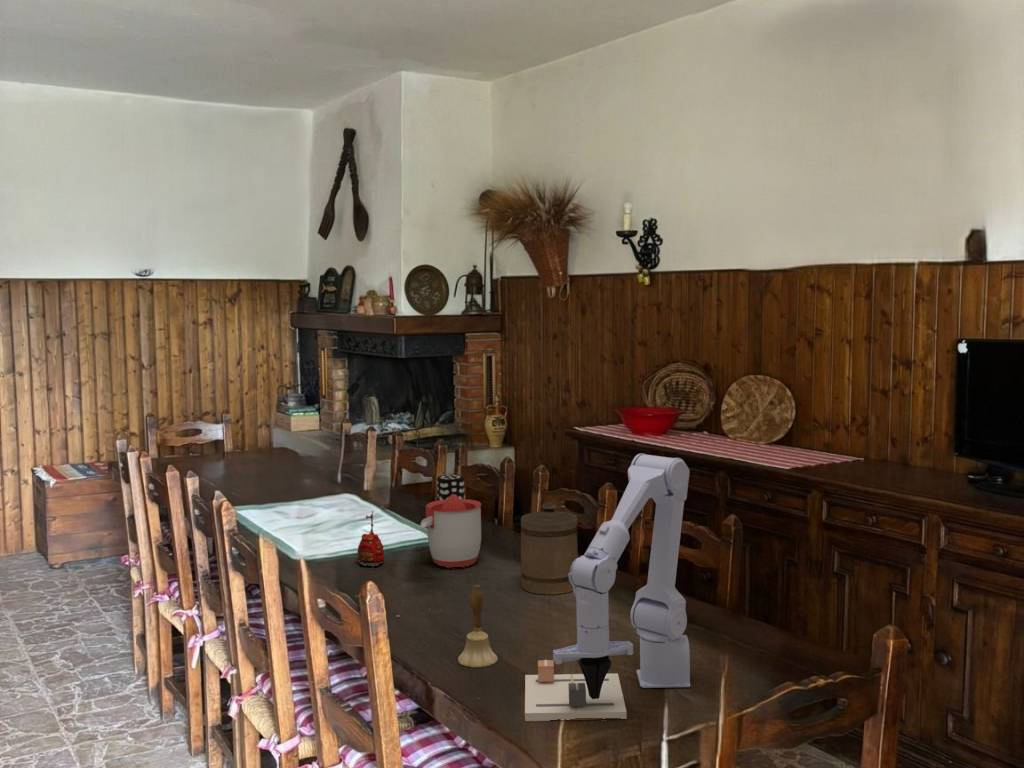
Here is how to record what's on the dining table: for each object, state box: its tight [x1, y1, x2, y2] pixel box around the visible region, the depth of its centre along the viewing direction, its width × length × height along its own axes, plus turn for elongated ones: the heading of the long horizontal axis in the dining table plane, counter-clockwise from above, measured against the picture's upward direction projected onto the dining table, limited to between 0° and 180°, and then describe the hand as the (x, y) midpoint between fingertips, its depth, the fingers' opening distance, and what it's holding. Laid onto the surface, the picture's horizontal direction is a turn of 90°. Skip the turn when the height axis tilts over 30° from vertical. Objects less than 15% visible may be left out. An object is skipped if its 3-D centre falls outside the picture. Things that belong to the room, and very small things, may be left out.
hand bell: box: [457, 584, 499, 668], centre depth 199 cm, size 8×8×16 cm
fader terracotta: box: [537, 659, 555, 682], centre depth 184 cm, size 3×3×3 cm
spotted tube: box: [436, 474, 466, 501], centre depth 294 cm, size 8×8×20 cm
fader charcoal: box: [568, 683, 586, 706], centre depth 173 cm, size 3×3×3 cm
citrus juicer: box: [420, 494, 482, 568], centre depth 270 cm, size 16×17×20 cm
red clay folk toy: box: [357, 510, 385, 563], centre depth 271 cm, size 8×7×15 cm
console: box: [524, 672, 628, 722], centre depth 179 cm, size 18×17×2 cm
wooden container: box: [520, 501, 579, 596], centre depth 247 cm, size 15×15×22 cm
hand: (594, 696), depth 173 cm, fingers closed
